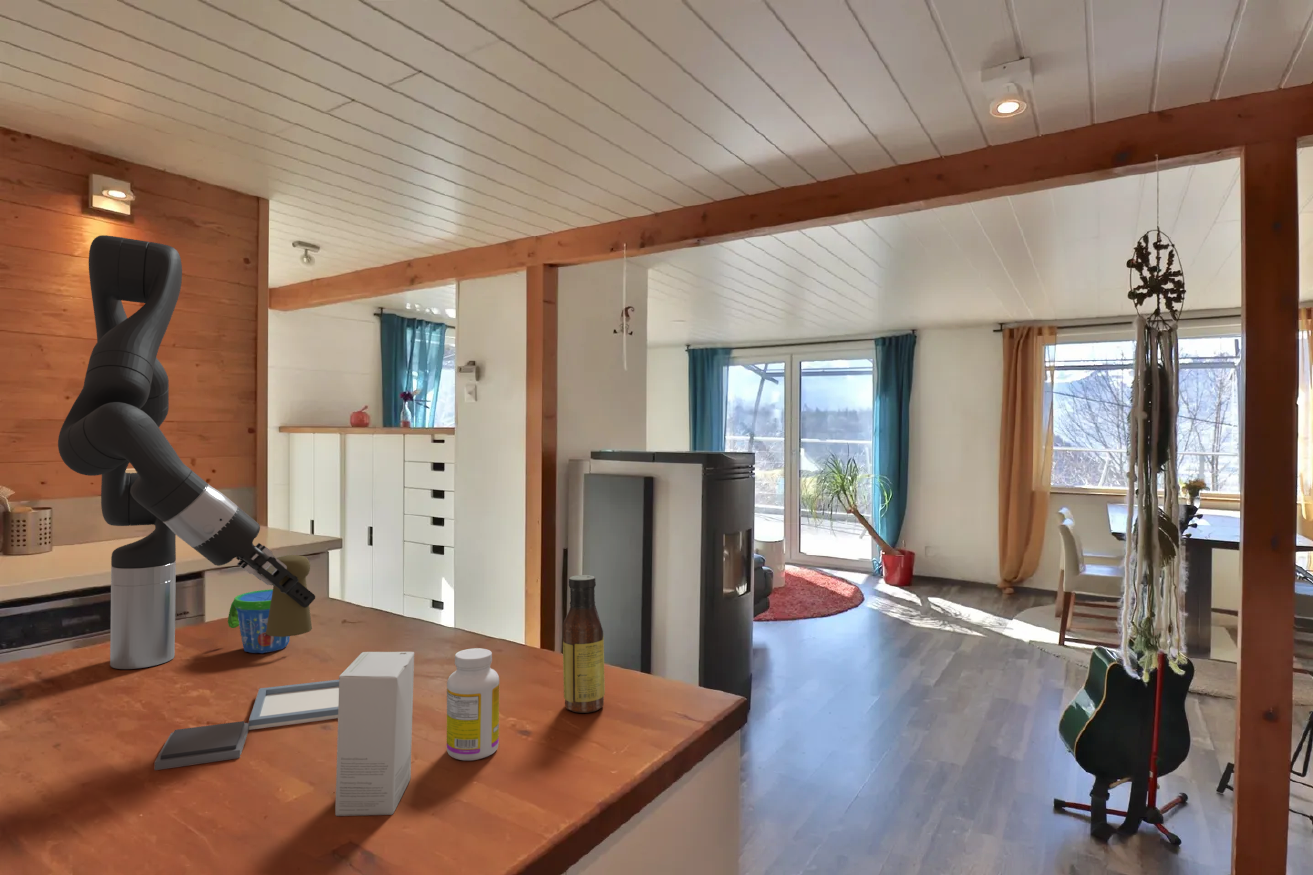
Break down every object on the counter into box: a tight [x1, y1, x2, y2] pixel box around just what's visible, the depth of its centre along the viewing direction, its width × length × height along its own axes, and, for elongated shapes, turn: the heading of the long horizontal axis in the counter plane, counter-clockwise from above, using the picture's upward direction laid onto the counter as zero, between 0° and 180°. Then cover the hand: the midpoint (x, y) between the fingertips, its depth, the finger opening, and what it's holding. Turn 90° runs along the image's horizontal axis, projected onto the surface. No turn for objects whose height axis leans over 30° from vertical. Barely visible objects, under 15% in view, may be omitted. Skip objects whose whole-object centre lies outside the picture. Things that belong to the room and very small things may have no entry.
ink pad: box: [154, 720, 250, 771], centre depth 92 cm, size 9×9×2 cm
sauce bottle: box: [562, 574, 606, 714], centre depth 108 cm, size 7×6×20 cm
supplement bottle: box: [446, 647, 500, 762], centre depth 93 cm, size 7×7×13 cm
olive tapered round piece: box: [266, 554, 313, 637], centre depth 104 cm, size 6×6×11 cm
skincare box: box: [334, 651, 415, 817], centre depth 81 cm, size 8×7×16 cm
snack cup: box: [227, 588, 291, 654], centre depth 134 cm, size 16×10×10 cm
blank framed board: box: [248, 679, 339, 731], centre depth 107 cm, size 13×13×1 cm
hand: (304, 598), depth 106 cm, fingers closed on olive tapered round piece, 4 cm apart
